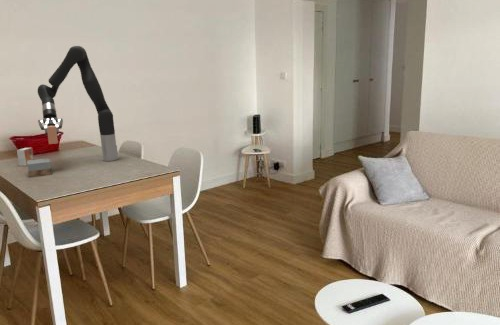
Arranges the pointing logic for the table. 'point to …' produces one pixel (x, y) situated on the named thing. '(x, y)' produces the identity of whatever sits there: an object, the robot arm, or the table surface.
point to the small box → (25, 156)
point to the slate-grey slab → (39, 164)
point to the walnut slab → (40, 172)
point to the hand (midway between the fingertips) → (52, 133)
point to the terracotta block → (52, 134)
